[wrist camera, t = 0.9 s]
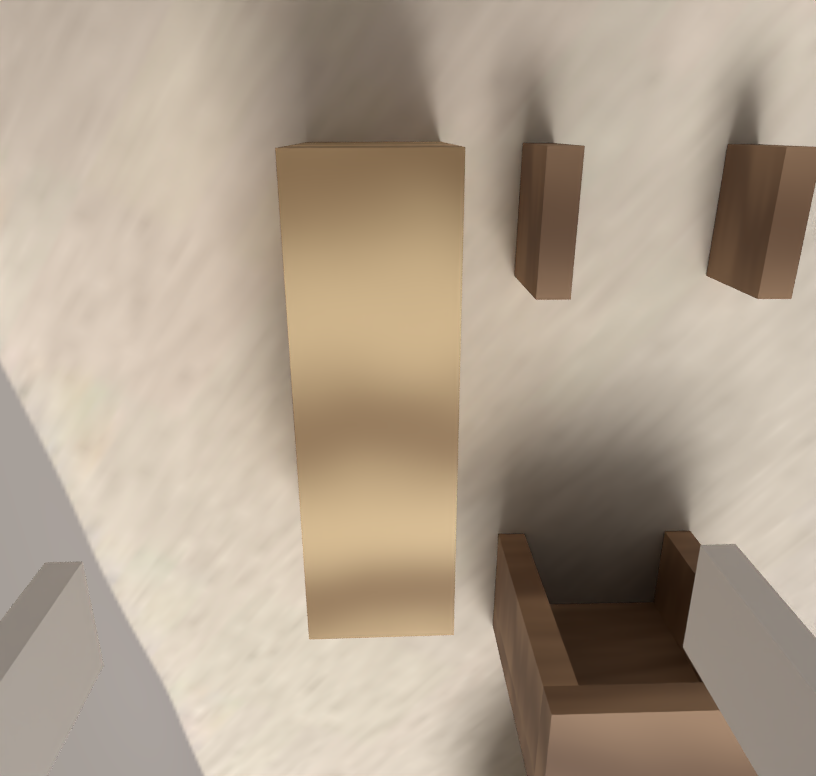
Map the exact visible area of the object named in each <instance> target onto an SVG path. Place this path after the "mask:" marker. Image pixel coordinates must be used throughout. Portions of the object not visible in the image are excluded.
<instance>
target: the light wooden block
mask: <svg viewBox="0 0 816 776" xmlns="http://www.w3.org/2000/svg"><path fill="white" fill-rule="evenodd" d="M275 152H276V167H277V181H278V196H279V210H280V225H281V239H282V254H283V268H284V283H285V297H286V311H287V326H288V340H289V355H290V369H291V384H292V398H293V413H294V427H295V442H296V456H297V471H298V485H299V500H300V514H301V529H302V543H303V558H304V572H305V587H306V601H307V616H308V630H309V639H337V638H369V637H400V636H432V635H454V596H455V554H456V513H457V471H458V429H459V387H460V345H461V304H462V262H463V220H464V178H465V147H462V146H458V145H453V144H448V143H444V142H305V143H300V144H295V145H289V146H284V147H279V148H275Z"/></svg>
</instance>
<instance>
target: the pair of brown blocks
mask: <svg viewBox="0 0 816 776" xmlns="http://www.w3.org/2000/svg"><path fill="white" fill-rule="evenodd" d="M584 148H585V146H581V145H569V144H558V143H523V147H522V163H521V180H520V196H519V212H518V228H517V244H516V260H515V277H516V278H517V279H518V280H519V282H520V283H521V284H522V285H523V286H524V287H525V288H526V289H527V290H528V291H529V292H530V294H531V295H532V296H533V297H534V298H535V299H536V300H559V299H571V289H572V278H573V267H574V256H575V245H576V235H577V224H578V213H579V202H580V191H581V180H582V170H583V159H584ZM815 183H816V147H807V146H784V145H761V144H728V146H727V152H726V158H725V165H724V171H723V177H722V183H721V189H720V195H719V202H718V208H717V214H716V220H715V226H714V232H713V239H712V245H711V251H710V257H709V263H708V269H707V275H706V276H708V277H710V278H713V279H715V280H717V281H719V282H722V283H724V284H726V285H728V286H730V287H733V288H735V289H737V290H739V291H741V292H744V293H746V294H748V295H750V296H752V297H755V298H757V299H791V298H792V293H793V288H794V284H795V279H796V274H797V269H798V264H799V260H800V255H801V250H802V245H803V240H804V236H805V231H806V226H807V221H808V217H809V212H810V207H811V202H812V197H813V193H814V188H815Z"/></svg>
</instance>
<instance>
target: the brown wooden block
mask: <svg viewBox="0 0 816 776" xmlns="http://www.w3.org/2000/svg"><path fill="white" fill-rule="evenodd" d="M700 545H701V544H700V543H699V542H698V540H697V539H696V538H695V537H694V535H693V534H692V533H691V531H665V534H664V540H663V547H662V553H661V559H660V565H659V571H658V577H657V584H656V590H655V596H654V602H639V603H592V604H549V601H548V599H547V596H546V593H545V590H544V587H543V585H542V582H541V579H540V576H539V573H538V571H537V568H536V565H535V562H534V559H533V557H532V554H531V551H530V548H529V546H528V543H527V540H526V537H525V534H499V535H498V551H497V567H496V583H495V599H494V615H493V629H494V633H495V637H496V642H497V646H498V650H499V655H500V659H501V664H502V668H503V672H504V677H505V681H506V685H507V690H508V694H509V698H510V703H511V707H512V712H513V716H514V720H515V725H516V729H517V733H518V738H519V742H520V747H521V751H522V755H523V760H524V764H525V768H526V773H527V776H758V775H757V773H756V771H755V770H754V768H753V766H752V765H751V763H750V761H749V759H748V758H747V756H746V754H745V753H744V751H743V749H742V748H741V746H740V744H739V742H738V741H737V739H736V737H735V736H734V734H733V732H732V730H731V729H730V727H729V725H728V724H727V722H726V720H725V718H724V717H723V715H722V713H721V712H720V710H719V708H718V707H717V705H716V703H715V701H714V700H713V698H712V696H711V695H710V693H709V691H708V689H707V688H706V686H705V684H704V683H703V681H702V679H701V677H700V676H699V674H698V672H697V671H696V669H695V667H694V666H693V664H692V662H691V660H690V659H689V657H688V655H687V654H686V652H685V650H684V648H683V643H684V638H685V632H686V626H687V620H688V615H689V609H690V603H691V597H692V592H693V586H694V580H695V574H696V569H697V563H698V557H699V551H700Z"/></svg>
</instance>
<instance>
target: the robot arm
mask: <svg viewBox="0 0 816 776" xmlns="http://www.w3.org/2000/svg"><path fill="white" fill-rule="evenodd" d="M683 648H684V650H685V652H686V654H687V655H688V657H689V659H690V660H691V662H692V664H693V666H694V667H695V669H696V671H697V672H698V674H699V676H700V677H701V679H702V681H703V683H704V684H705V686H706V688H707V689H708V691H709V693H710V695H711V696H712V698H713V700H714V701H715V703H716V705H717V707H718V708H719V710H720V712H721V713H722V715H723V717H724V718H725V720H726V722H727V724H728V725H729V727H730V729H731V730H732V732H733V734H734V736H735V737H736V739H737V741H738V742H739V744H740V746H741V748H742V749H743V751H744V753H745V754H746V756H747V758H748V759H749V761H750V763H751V765H752V766H753V768H754V770H755V771H756V773H757V775H758V776H816V638H815V636H814V635H813V634H812V633H811V632H810V631H809V629H808V628H807V627H806V626H805V625H804V624H803V622H802V621H801V620H800V619H799V618H798V617H797V615H796V614H795V613H794V612H793V611H792V610H791V608H790V607H789V606H788V605H787V604H786V603H785V601H784V600H783V599H782V598H781V597H780V596H779V594H778V593H777V592H776V591H775V590H774V589H773V587H772V586H771V585H770V584H769V583H768V582H767V580H766V579H765V578H764V577H763V576H762V575H761V573H760V572H759V571H758V570H757V569H756V568H755V566H754V565H753V564H752V563H751V562H750V561H749V559H748V558H747V557H746V556H745V555H744V554H743V552H742V551H741V550H740V549H739V548H738V547H737V545H736V544H723V545H700V551H699V557H698V563H697V569H696V574H695V580H694V586H693V592H692V597H691V603H690V609H689V615H688V620H687V626H686V632H685V638H684V643H683ZM103 667H104V664H103V659H102V654H101V650H100V645H99V640H98V635H97V630H96V625H95V620H94V615H93V611H92V606H91V601H90V596H89V591H88V586H87V582H86V576H85V572H84V567H83V562H48V563H44V565H43V566H42V567H41V569H40V570H39V571H38V573H37V574H36V575H35V576H34V578H33V579H32V580H31V582H30V583H29V585H28V586H27V587H26V588H25V589H24V591H23V592H22V593H21V595H20V596H19V597H18V599H17V600H16V601H15V603H14V604H13V605H12V606H11V608H10V609H9V610H8V612H7V613H6V614H5V616H4V617H3V618H2V620H1V621H0V776H48V774H49V772H50V770H51V768H52V766H53V764H54V762H55V761H56V759H57V757H58V755H59V753H60V751H61V749H62V747H63V745H64V743H65V741H66V739H67V737H68V735H69V733H70V731H71V729H72V727H73V725H74V723H75V721H76V719H77V718H78V715H79V714H80V712H81V709H82V708H83V706H84V704H85V702H86V700H87V698H88V696H89V694H90V692H91V690H92V688H93V686H94V684H95V682H96V680H97V678H98V676H99V674H100V672H101V671H102V669H103Z"/></svg>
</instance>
